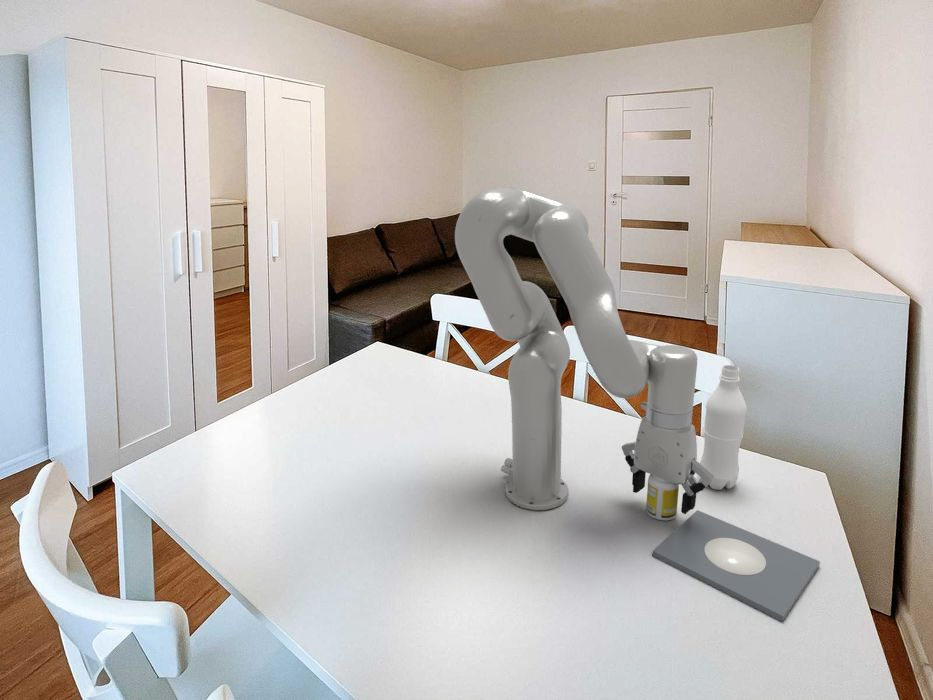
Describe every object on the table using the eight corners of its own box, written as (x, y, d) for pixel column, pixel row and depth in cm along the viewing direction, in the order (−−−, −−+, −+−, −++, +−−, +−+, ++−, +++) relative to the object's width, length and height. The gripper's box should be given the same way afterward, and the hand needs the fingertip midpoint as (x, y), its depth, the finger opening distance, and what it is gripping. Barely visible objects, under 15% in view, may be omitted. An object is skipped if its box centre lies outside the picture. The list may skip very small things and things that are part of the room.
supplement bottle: (679, 509, 103) (683, 463, 100) (672, 525, 99) (676, 477, 96) (650, 501, 106) (653, 456, 103) (642, 516, 102) (645, 469, 99)
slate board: (652, 555, 91) (652, 550, 91) (696, 514, 101) (697, 509, 101) (782, 621, 77) (783, 615, 77) (819, 566, 87) (820, 560, 87)
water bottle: (740, 494, 107) (757, 374, 99) (702, 491, 108) (714, 373, 101) (731, 475, 114) (746, 362, 106) (695, 473, 115) (706, 360, 107)
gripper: (614, 408, 100) (610, 490, 105) (707, 438, 88) (698, 529, 93) (636, 396, 105) (631, 475, 110) (728, 423, 92) (717, 510, 98)
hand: (662, 499), depth 101 cm, fingers open, 9 cm apart
